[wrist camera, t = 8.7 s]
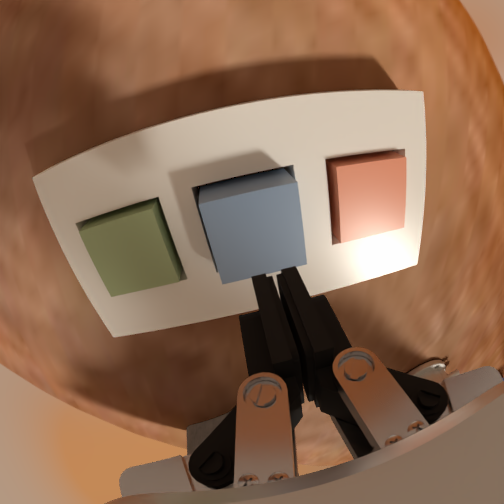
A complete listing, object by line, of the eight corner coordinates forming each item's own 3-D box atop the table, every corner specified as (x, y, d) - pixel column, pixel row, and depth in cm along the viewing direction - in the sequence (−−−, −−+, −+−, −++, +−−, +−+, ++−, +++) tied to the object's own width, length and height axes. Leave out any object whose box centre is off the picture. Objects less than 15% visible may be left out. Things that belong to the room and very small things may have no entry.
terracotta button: (382, 147, 18) (406, 157, 16) (383, 210, 21) (404, 227, 18) (318, 156, 18) (336, 167, 16) (324, 223, 21) (340, 243, 18)
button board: (398, 89, 17) (423, 91, 14) (399, 247, 24) (417, 264, 21) (52, 165, 16) (31, 177, 14) (120, 313, 23) (113, 337, 21)
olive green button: (160, 191, 18) (152, 208, 15) (182, 257, 21) (179, 281, 18) (94, 212, 18) (78, 231, 15) (121, 272, 21) (111, 297, 18)
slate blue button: (283, 168, 17) (297, 182, 14) (293, 240, 20) (307, 264, 17) (200, 186, 17) (198, 204, 14) (220, 257, 20) (222, 284, 17)
